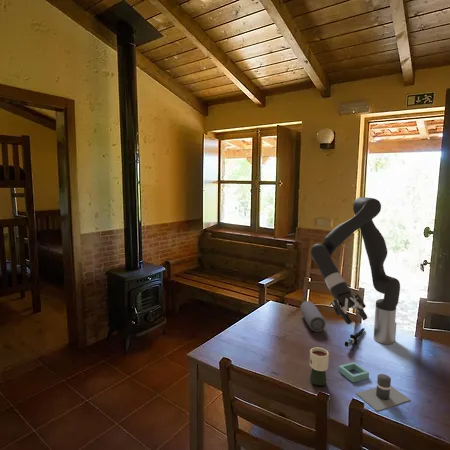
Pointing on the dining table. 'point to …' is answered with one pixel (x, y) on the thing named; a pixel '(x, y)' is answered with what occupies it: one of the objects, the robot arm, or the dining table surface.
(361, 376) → the green square frame
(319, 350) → the character mug
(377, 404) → the grey mat
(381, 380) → the dark grey cylinder
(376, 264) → the robot arm
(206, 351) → the dining table surface
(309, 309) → the bluetooth speaker
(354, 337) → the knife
